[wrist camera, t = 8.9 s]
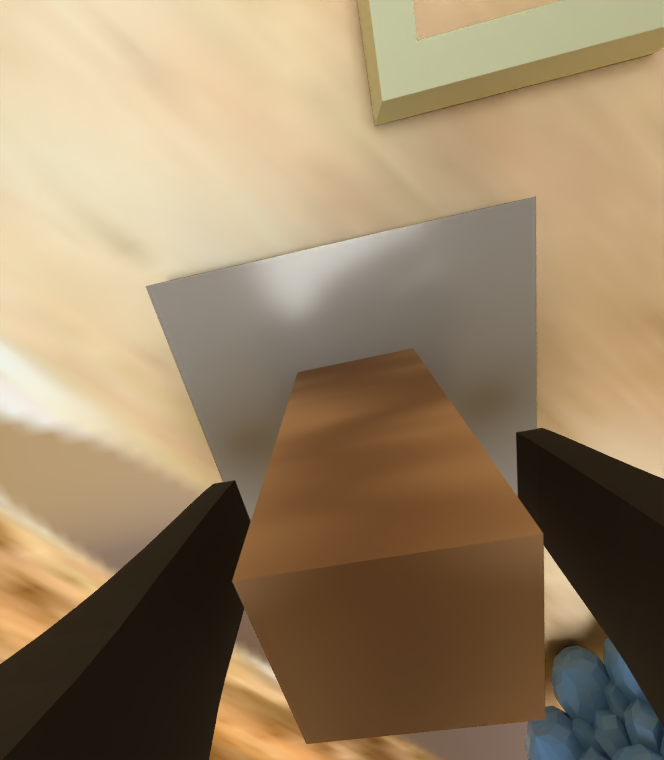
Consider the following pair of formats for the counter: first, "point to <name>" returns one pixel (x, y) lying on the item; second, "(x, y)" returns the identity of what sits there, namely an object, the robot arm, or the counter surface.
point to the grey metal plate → (363, 329)
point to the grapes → (595, 712)
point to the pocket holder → (497, 50)
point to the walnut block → (392, 562)
